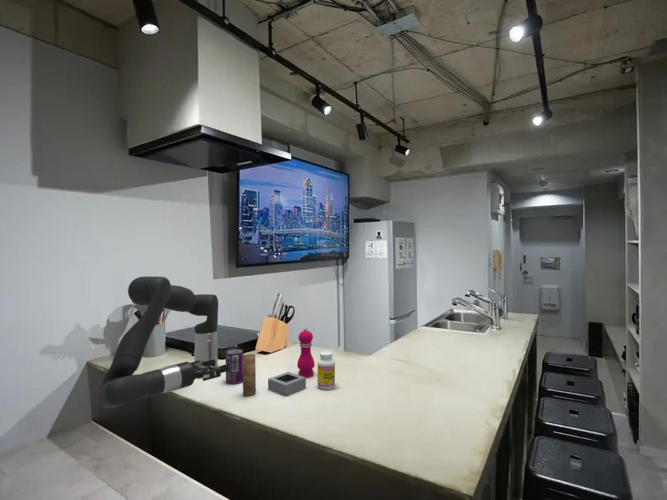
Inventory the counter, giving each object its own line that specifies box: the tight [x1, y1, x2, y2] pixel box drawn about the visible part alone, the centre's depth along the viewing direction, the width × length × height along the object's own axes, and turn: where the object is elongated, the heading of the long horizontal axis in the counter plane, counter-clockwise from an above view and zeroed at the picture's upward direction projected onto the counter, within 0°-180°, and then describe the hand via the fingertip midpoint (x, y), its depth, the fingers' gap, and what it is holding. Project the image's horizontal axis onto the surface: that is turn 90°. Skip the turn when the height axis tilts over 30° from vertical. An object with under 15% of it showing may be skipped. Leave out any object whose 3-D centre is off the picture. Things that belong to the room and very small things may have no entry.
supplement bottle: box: [317, 351, 336, 390], centre depth 138 cm, size 7×7×13 cm
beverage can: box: [225, 348, 245, 384], centre depth 145 cm, size 7×7×12 cm
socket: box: [267, 371, 307, 397], centre depth 137 cm, size 10×10×4 cm
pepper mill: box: [296, 327, 315, 379], centre depth 151 cm, size 7×7×20 cm
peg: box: [242, 353, 257, 398], centre depth 132 cm, size 4×4×14 cm
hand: (221, 364), depth 123 cm, fingers open, 8 cm apart
